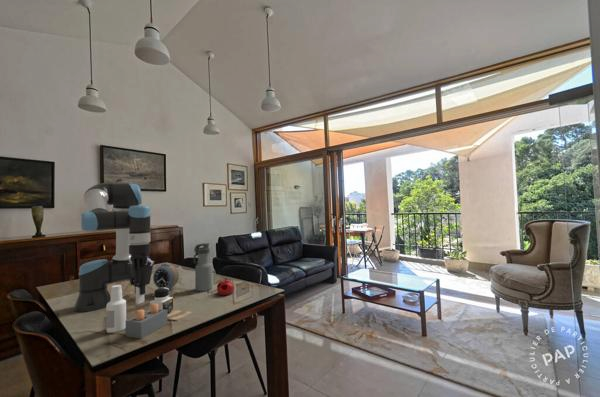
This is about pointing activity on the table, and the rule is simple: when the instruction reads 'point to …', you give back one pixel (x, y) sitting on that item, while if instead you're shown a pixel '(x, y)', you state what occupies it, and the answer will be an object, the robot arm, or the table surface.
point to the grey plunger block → (146, 324)
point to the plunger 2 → (154, 308)
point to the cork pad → (177, 315)
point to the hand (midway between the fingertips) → (140, 302)
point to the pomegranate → (225, 287)
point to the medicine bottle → (163, 299)
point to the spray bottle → (116, 311)
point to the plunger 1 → (139, 315)
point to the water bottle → (203, 268)
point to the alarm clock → (166, 278)
